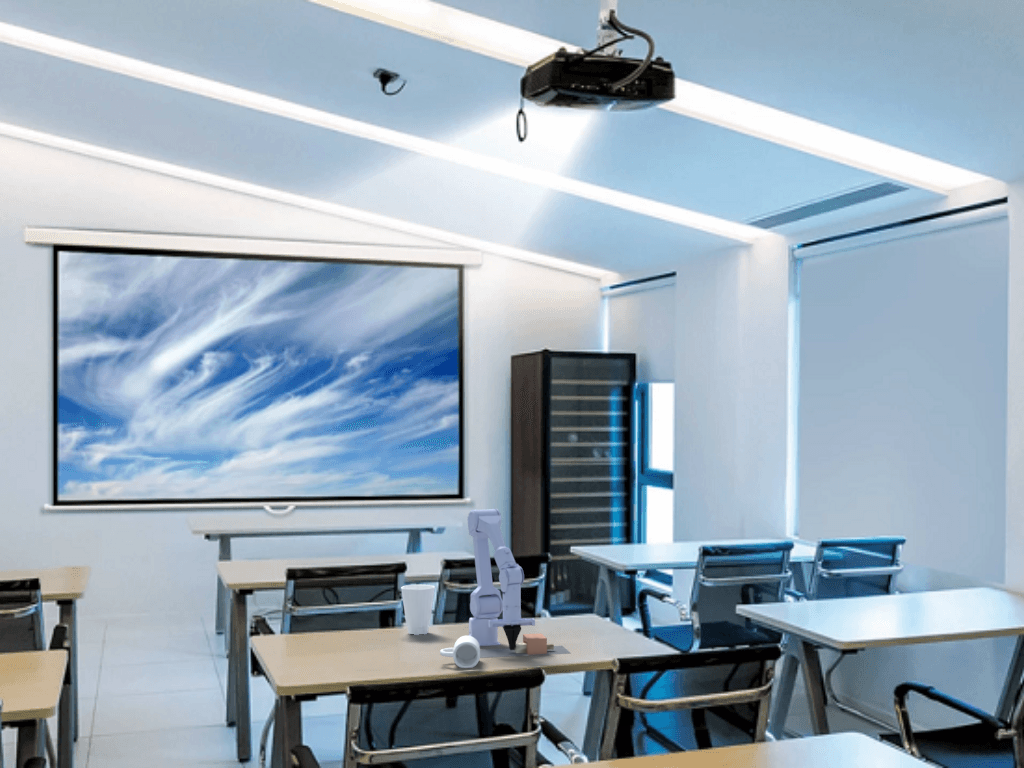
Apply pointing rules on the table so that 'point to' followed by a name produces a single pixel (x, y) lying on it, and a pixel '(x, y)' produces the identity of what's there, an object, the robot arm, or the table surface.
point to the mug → (464, 652)
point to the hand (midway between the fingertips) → (512, 649)
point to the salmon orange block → (535, 643)
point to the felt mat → (507, 653)
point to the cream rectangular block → (523, 647)
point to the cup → (418, 607)
